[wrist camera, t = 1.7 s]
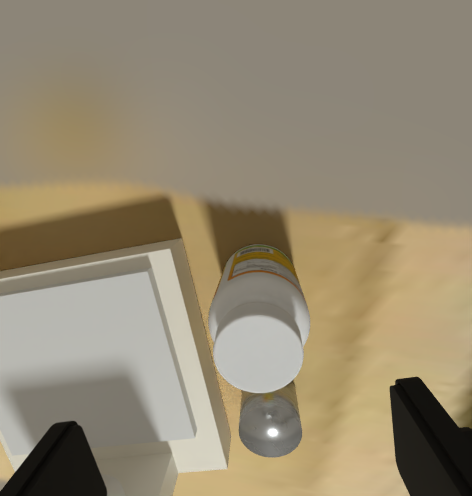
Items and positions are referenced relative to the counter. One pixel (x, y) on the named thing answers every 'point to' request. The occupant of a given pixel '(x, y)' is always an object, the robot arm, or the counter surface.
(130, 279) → the scale
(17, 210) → the counter surface
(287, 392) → the metal cylinder weight
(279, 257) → the supplement bottle
